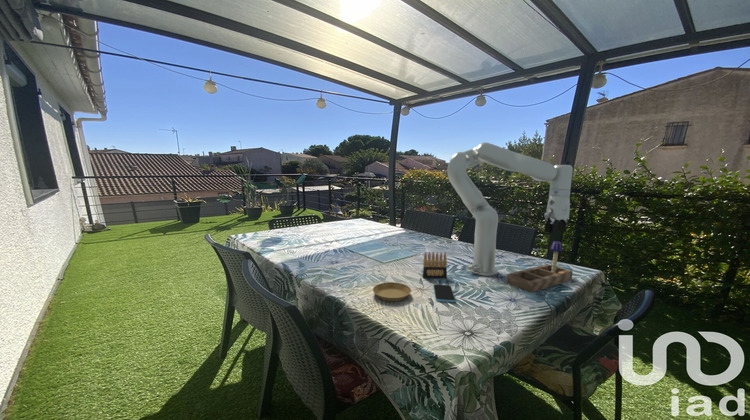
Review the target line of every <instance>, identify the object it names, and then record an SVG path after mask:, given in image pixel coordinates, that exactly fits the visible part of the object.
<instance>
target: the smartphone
mask: <svg viewBox="0 0 750 420" xmlns="http://www.w3.org/2000/svg"><path fill="white" fill-rule="evenodd" d="M432 287H433V291H434V292H433V294H434V298H435V301H436V302H440V303H456V297H455V295H454V292H453V289H452V286H451V285H448V284H433V286H432Z"/></svg>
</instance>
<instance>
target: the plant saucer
mask: <svg viewBox="0 0 750 420" xmlns="http://www.w3.org/2000/svg"><path fill="white" fill-rule="evenodd" d="M372 291H373V293H374V294H375V295H376V297H377V298H379V299H380V300H383V301H385V302H390V303H391V302H400V301H403V300H405V299H406V298H407V297H408V296H409V295H410V294H411V293H412V288H411V287H410V286H408V285H406V284H404V283H400V282H395V281H394V282H393V281H390V282H382V283H378V284H376V285H375V286H373V287H372Z"/></svg>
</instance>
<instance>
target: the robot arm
mask: <svg viewBox="0 0 750 420" xmlns="http://www.w3.org/2000/svg"><path fill="white" fill-rule="evenodd" d="M483 163H485V164H488V165H491V166H494V167H497V168H500V169H502V170H505V171H508V172H513V173H520V174H522V175H523V174H524V175H526V176H529V177H531V179H532V180H534V181H536V182H549V183H550V184H549V192H548V201H547V206H546V212H544V214H543V215H544V217H543V218H544V223H545V225H544V233H549V234H553V233H554V227H555V224H554V222H555V221H556V220H557V221H558V222H557V231H559V232H566V229H567V223H568V219H570V213H571V212H570V210H571V200H570V195H571V186H572V178H573V171H574V169H573V166H572V165H570V164H555V165H553V164H552V163H549V162H547V161H544V160H541V159H538V158H535V157H534V156H533V157H532V156H528V155H526V154H522V153H519V152H516V151H513V150H509V149H507V148H504V147H501V146H498V145H495V144H493V143H489V142H482V143H479V144H478V145H477V146H474V147H473V148H470V149H467V150H465V151H459V152H458V151H457V152H455V153H454V154H453V155H452V156H451V158H450V160H449V162H448V165H447V171H446V173H447V178H448V180H449V183H450V184H451V186H452V188H453V189H454V190H455V192H456V193H457V195H458V196H459V197H460V198H461V200H462V203H463V204H464V205H465V207H466V208H467V210H468V211H469V212H470V213H471V215H472V216H473V217H474V219H475V228H474V240H473V241H474V242H473V243H474V244H473V245H474V246H473V261H472V262H471V265H466V270H467V271H470V272H471V273H473V274H476V275H480V276H483V277H484V276H486V277H491V276H493V277H494V276H497V275H498V274H499V271H498V269H497V268H495V265H496V264H495V263H496V248H497V231H498V224H499V214H498V212H497V211H496V210H495V209H494V208H493V206H491V205H490V203H489V202H488V201H487V199H486V198H485V197H484V196H483V193H482V191H481V190H480V189H478V187H477V186H476V184H475V183H474V182H473V181H472V179H471V178H470V176H469V175H468V172H467V169H469V168H472V167H474V166H475V167H476V166H478V165H480V164H483Z"/></svg>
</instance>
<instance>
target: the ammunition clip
mask: <svg viewBox="0 0 750 420" xmlns="http://www.w3.org/2000/svg"><path fill="white" fill-rule="evenodd" d="M447 265H448V263H447V252H444V254H443V252H442V251H440V253H439V252H438V251H437V252H436V253H435V252H434V251H433V252H432V254H431V252H430V251H429V252H428V255H427V252H426V251H425V252H424V254H423V265H422V278H423V279H447V278H448V275H447V273H448V272H447V271H448V269H447V268H448V267H447Z"/></svg>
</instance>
